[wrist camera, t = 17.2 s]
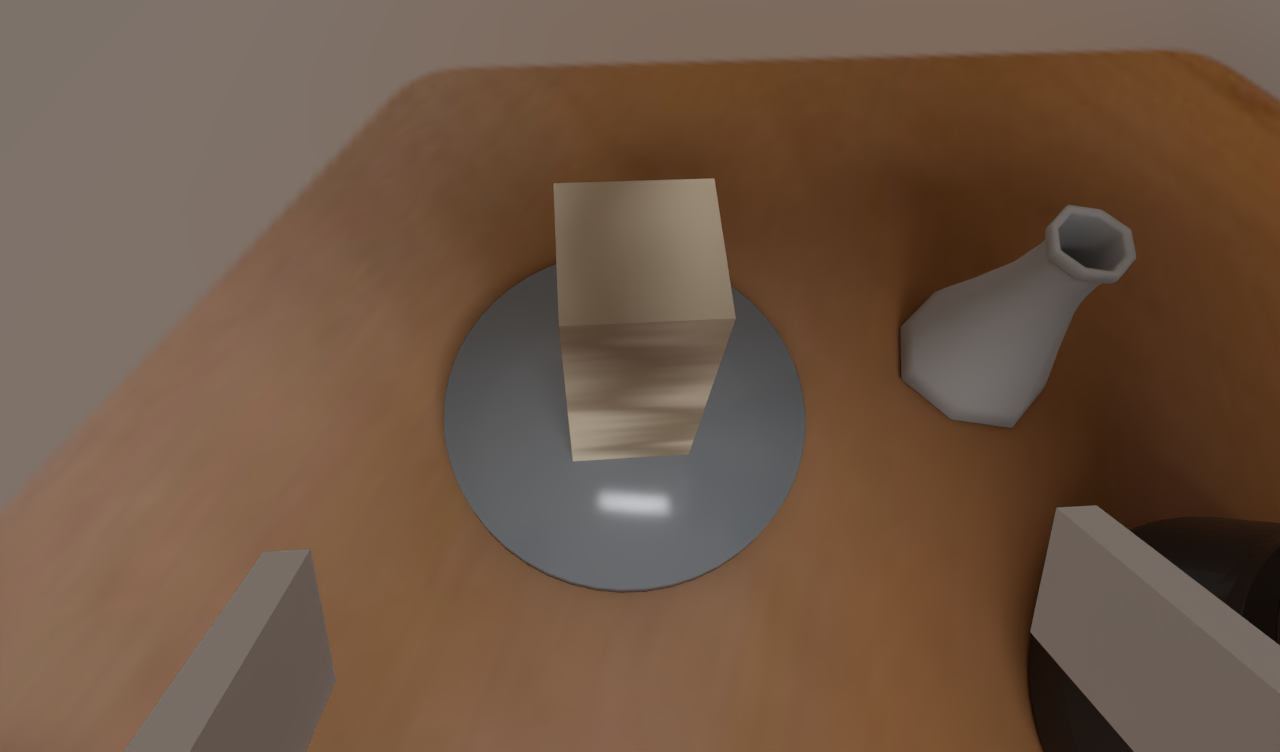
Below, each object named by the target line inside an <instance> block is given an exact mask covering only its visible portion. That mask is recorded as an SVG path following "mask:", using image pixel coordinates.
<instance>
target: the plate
mask: <svg viewBox="0 0 1280 752" xmlns="http://www.w3.org/2000/svg"><path fill="white" fill-rule="evenodd" d="M731 290H732V297H733V303H734V310H735V316H736V319H735V322H734V325H733V328H732V331H731V334H730V337H729V339H728V342H727V345H726V348H725V351H724V354H723V357H722V360H721V363H720V365H719V368H718V371H717V374H716V377H715V380H714V383H713V386H712V389H711V391H710V394H709V397H708V400H707V403H706V406H705V409H704V412H703V415H702V417H701V420H700V423H699V426H698V429H697V432H696V435H695V438H694V441H693V443H692V446H691V449H690V452H689V454H688V455H671V456H655V457H638V458H621V459H605V460H588V461H573V459H572V449H571V439H570V430H569V420H568V410H567V400H566V391H565V381H564V371H563V361H562V352H561V342H560V332H559V316H558V290H557V264H555V265H553V266H550V267H547V268H545V269H543V270H541V271H539V272H537V273H535V274H533V275H531V276H529V277H527V278H526V279H524V280H523V281H521V282H520V283H518V284H517V285H515V286H514V287H512V288H510V289H509V290H508V291H507V292H506V293H505V294H503V295H502V296H501V297H500V298H499V299H497V300H496V301H495V302H494V303H493V304H492V305H491V306H490V307H489V308H488V309H487V311H486V312H485V313H484V314H483V315H482V316H481V317H480V318H479V320H478V321H477V322H476V324H475V325H474V327H473V328H472V329H471V331H470V332H469V334H468V335H467V337H466V339H465V341H464V342H463V344H462V346H461V348H460V350H459V352H458V354H457V356H456V359H455V362H454V365H453V367H452V370H451V373H450V376H449V381H448V385H447V390H446V395H445V406H444V430H445V442H446V446H447V451H448V455H449V460H450V464H451V467H452V469H453V472H454V474H455V477H456V480H457V482H458V485H459V487H460V489H461V490H462V492H463V494H464V496H465V498H466V499H467V501H468V503H469V505H470V506H471V508H472V510H473V511H474V513H475V514H476V516H477V517H478V518H479V520H480V521H481V522H482V524H483V525H484V526H485V528H486V529H487V530H488V531H489V533H490V534H491V535H492V536H493V537H494V538H495V539H496V540H497V541H498V542H500V543H501V544H502V545H503V546H504V547H505V548H506V549H507V550H508V551H509V552H511V553H512V554H513V555H515V556H516V557H518V558H519V559H520V560H522V561H523V562H524V563H526V564H527V565H529V566H531V567H533V568H535V569H536V570H538V571H540V572H542V573H544V574H546V575H547V576H550V577H553V578H555V579H558V580H560V581H563V582H566V583H568V584H571V585H575V586H579V587H584V588H588V589H592V590H598V591H608V592H619V593H625V592H647V591H652V590H658V589H664V588H669V587H673V586H676V585H679V584H682V583H685V582H688V581H691V580H695V579H697V578H699V577H701V576H703V575H705V574H707V573H709V572H711V571H713V570H715V569H717V568H719V567H720V566H722V565H723V564H725V563H726V562H728V561H729V560H731V559H732V558H734V557H735V556H736V555H738V554H739V553H740V552H741V551H742V550H743V549H744V548H745V547H747V546H748V545H749V544H750V543H751V542H752V541H753V540H754V539H755V538H756V537H757V536H758V535H759V534H760V533H761V531H762V530H763V529H764V528H765V527H766V525H767V524H768V523H769V522H770V521H771V519H772V518H773V517H774V516H775V514H776V513H777V511H778V510H779V508H780V506H781V505H782V503H783V502H784V500H785V498H786V497H787V495H788V493H789V491H790V488H791V486H792V484H793V481H794V479H795V477H796V474H797V471H798V467H799V464H800V460H801V456H802V453H803V445H804V437H805V406H804V400H803V393H802V387H801V384H800V381H799V377H798V374H797V370H796V367H795V365H794V363H793V360H792V358H791V356H790V354H789V351H788V349H787V347H786V346H785V344H784V342H783V341H782V339H781V337H780V336H779V334H778V333H777V331H776V329H775V328H774V327H773V326H772V324H771V323H770V322H769V321H768V319H767V318H766V317H765V316H764V314H763V313H762V312H761V311H760V310H759V309H758V308H757V307H756V306H755V305H754V304H753V303H752V302H751V301H750V300H749V299H748V298H746V297H745V296H744V295H742V294H741V293H740V292H739V291H737V290H736V289H735V288H733V287H732V286H731Z"/></svg>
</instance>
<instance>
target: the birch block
mask: <svg viewBox="0 0 1280 752" xmlns="http://www.w3.org/2000/svg"><path fill="white" fill-rule="evenodd" d="M553 185H554V211H555V237H556V263H557V290H558V316H559V332H560V342H561V352H562V361H563V371H564V381H565V391H566V400H567V410H568V420H569V430H570V439H571V449H572V459H573V461H588V460H605V459H621V458H638V457H655V456H671V455H688V454H689V452H690V449H691V446H692V443H693V441H694V438H695V435H696V432H697V429H698V426H699V423H700V420H701V417H702V415H703V412H704V409H705V406H706V403H707V400H708V397H709V394H710V391H711V389H712V386H713V383H714V380H715V377H716V374H717V371H718V368H719V365H720V363H721V360H722V357H723V354H724V351H725V348H726V345H727V342H728V339H729V337H730V334H731V331H732V328H733V325H734V322H735V319H736V316H735V310H734V303H733V297H732V290H731V284H730V277H729V271H728V264H727V258H726V251H725V245H724V238H723V232H722V225H721V219H720V212H719V206H718V199H717V193H716V186H715V179H714V178H713V179H679V180H646V181H612V182H579V183H553Z"/></svg>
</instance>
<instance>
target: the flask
mask: <svg viewBox="0 0 1280 752" xmlns="http://www.w3.org/2000/svg"><path fill="white" fill-rule="evenodd" d="M1045 238H1046V239H1045V240H1044V241H1043V242H1042V243H1041V244H1039V245H1038V246H1036V247H1035V248H1033V249H1032V250H1030V251H1029V252H1027V253H1026V254H1025V255H1023V256H1022V257H1020V258H1019V259H1017V260H1016V261H1014V262H1011V263H1009V264H1007V265H1004V266H1002V267H999V268H997V269H994V270H992V271H990V272H987V273H985V274H982V275H980V276H978V277H975V278H972V279H969V280H966V281H963V282H961V283H958V284H955V285H952V286H949V287H946V288H944V289H941V290H939V291H936V292H934V293H933V294H932V295H931V296H930V297H929V298H928V299H927V300H926V301H925V302H924V303H923V304H922V305H921V306H920V307H919V308H918V309H917V310H916V311H915V312H914V313H913V314H912V315H911V317H910V318H909V319H908V320H907V321H906V322H905V323H904V324H903V325H902V326H901V327H900V329H901V379H902V380H903V381H904V382H905V383H907V384H908V385H909V386H910V387H912V388H913V389H914V390H915V391H917V392H918V393H919V394H920V395H921V396H923V397H924V398H925V399H926V400H928V401H929V402H930V403H931V404H933V405H934V406H935V407H936V408H937V409H939V410H940V411H941V412H942V413H944V414H945V415H946V416H947V417H948V418H950V419H952V420H959V421H966V422H972V423H979V424H986V425H993V426H1000V427H1007V428H1012V427H1013V426H1014V425H1015V424H1016V423H1017V421H1018V420H1019V419H1020V418H1021V416H1022V415H1023V414H1024V413H1025V412H1026V410H1027V409H1028V408H1029V407H1030V405H1031V404H1032V403H1033V402H1034V400H1035V399H1036V398H1037V397H1038V396H1039V394H1040V393H1041V392H1042V391H1043V389H1044V387H1045V385H1046V383H1047V380H1048V378H1049V375H1050V372H1051V370H1052V367H1053V364H1054V361H1055V358H1056V356H1057V353H1058V350H1059V347H1060V345H1061V343H1062V341H1063V338H1064V336H1065V334H1066V331H1067V329H1068V327H1069V324H1070V322H1071V320H1072V317H1073V315H1074V313H1075V311H1076V309H1077V308H1078V307H1079V305H1080V304H1081V303H1082V301H1083V300H1084V299H1085V297H1086V296H1087V295H1088V294H1089V293H1091V292H1092V291H1093V290H1094V289H1095V288H1096V287H1097V286H1099V285H1100V284H1102V283H1104V284H1112V283H1115V282H1116V281H1117V280H1118V279H1120V277H1121V276H1122V275H1123V274H1124V273H1125V271H1126V270H1127V269H1128V268H1129V266H1130V265H1131V264H1132V263H1133V262H1134V260H1135V259H1136V258H1137V257H1136V252H1135V246H1134V241H1133V235H1132V230H1131V229H1130V228H1128V227H1127V226H1125V225H1124V224H1122V223H1121V222H1120V221H1118V220H1117V219H1115V218H1114V217H1112V216H1111V215H1109V214H1108V213H1106V212H1105V211H1103V210H1102V209H1096V208H1089V207H1082V206H1075V205H1067V206H1066V207H1065V208H1064V209H1063V210H1062V211H1061V212H1060V213H1059V214H1058V216H1057V217H1056V218H1055V219H1054V220H1053V221H1052V222H1051V223H1050V224H1049V225H1048V226H1047V228H1046V230H1045Z"/></svg>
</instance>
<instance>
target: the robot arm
mask: <svg viewBox="0 0 1280 752" xmlns="http://www.w3.org/2000/svg"><path fill="white" fill-rule="evenodd" d="M1030 632H1031V633H1032V635H1033V636H1032V642H1031V650H1030V670H1029V675H1030V691H1031V699H1032V706H1033V711H1034V716H1035V721H1036V725H1037V729H1038V733H1039V737H1040V740H1041V743H1042V746H1043V749H1044V752H1280V523H1273V522H1261V521H1248V520H1236V519H1223V518H1211V517H1183V518H1175V519H1167V520H1161V521H1156V522H1152V523H1148V524H1145V525H1142V526H1139V527H1136V528H1133V529H1130V530H1128V529H1127V528H1126V527H1124V526H1123V525H1122V524H1120V523H1119V522H1118V521H1116V520H1115V519H1114V518H1113V517H1111V516H1110V515H1109V514H1107V513H1106V512H1105V511H1103V510H1102V509H1101V508H1099V507H1098V506H1097V505H1093V506H1075V507H1057V508H1056V512H1055V517H1054V521H1053V526H1052V531H1051V536H1050V540H1049V545H1048V550H1047V554H1046V559H1045V564H1044V569H1043V573H1042V578H1041V583H1040V587H1039V592H1038V597H1037V602H1036V606H1035V611H1034V616H1033V620H1032V625H1031V630H1030ZM335 681H336V677H335V672H334V667H333V662H332V657H331V651H330V646H329V641H328V636H327V631H326V626H325V621H324V616H323V611H322V606H321V601H320V596H319V590H318V585H317V580H316V575H315V570H314V565H313V560H312V555H311V550H310V549H305V550H287V551H269V552H263V553H262V554H261V556H260V557H259V559H258V560H257V561H256V563H255V564H254V566H253V567H252V569H251V570H250V571H249V573H248V574H247V576H246V577H245V579H244V580H243V581H242V583H241V584H240V586H239V587H238V589H237V590H236V591H235V593H234V594H233V596H232V597H231V599H230V600H229V601H228V603H227V604H226V606H225V607H224V609H223V610H222V611H221V613H220V614H219V616H218V617H217V619H216V620H215V621H214V623H213V624H212V626H211V627H210V629H209V630H208V631H207V633H206V634H205V636H204V637H203V639H202V640H201V641H200V643H199V644H198V646H197V647H196V649H195V650H194V651H193V653H192V654H191V656H190V657H189V659H188V660H187V661H186V663H185V664H184V666H183V667H182V669H181V670H180V672H179V673H178V674H177V676H176V677H175V679H174V680H173V682H172V683H171V684H170V686H169V687H168V689H167V690H166V692H165V693H164V694H163V696H162V697H161V699H160V700H159V702H158V703H157V704H156V706H155V707H154V709H153V710H152V712H151V713H150V714H149V716H148V717H147V719H146V720H145V722H144V723H143V724H142V726H141V727H140V729H139V730H138V732H137V733H136V734H135V736H134V737H133V739H132V740H131V742H130V743H129V744H128V746H127V747H126V749H125V750H124V752H306V750H307V748H308V746H309V743H310V741H311V738H312V736H313V734H314V731H315V729H316V726H317V724H318V722H319V719H320V717H321V714H322V712H323V710H324V707H325V705H326V702H327V700H328V698H329V695H330V693H331V690H332V688H333V686H334V683H335Z"/></svg>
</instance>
